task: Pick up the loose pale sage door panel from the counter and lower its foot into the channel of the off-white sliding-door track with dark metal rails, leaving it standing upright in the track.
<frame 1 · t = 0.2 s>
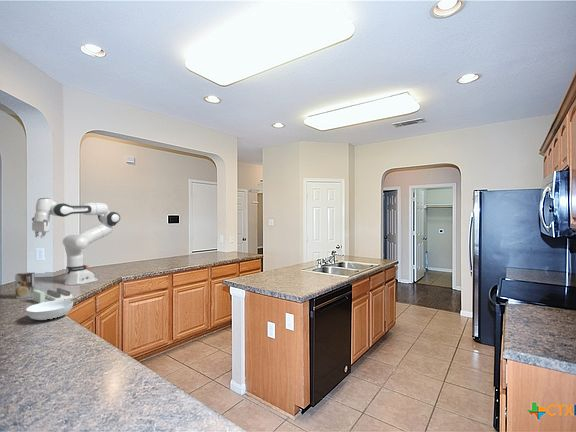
hand: (39, 237, 219), 39 cm above the countertop, tool pointing down, fingers open, 8 cm apart
coffee box: (25, 297, 202), on the countertop
door panel: (38, 301, 192), on the countertop
floor track: (58, 297, 202), on the countertop
serving bowl: (50, 317, 167), on the countertop
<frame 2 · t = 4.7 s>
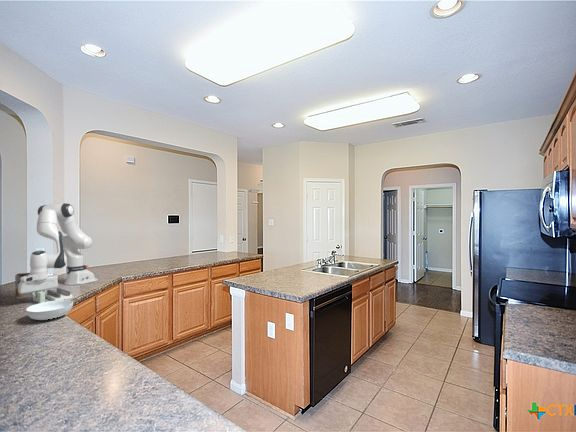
hand: (38, 297, 192), 3 cm above the countertop, tool pointing down, fingers closed on door panel, 2 cm apart
door panel: (38, 301, 192), on the countertop, touching gripper
everything else where it was.
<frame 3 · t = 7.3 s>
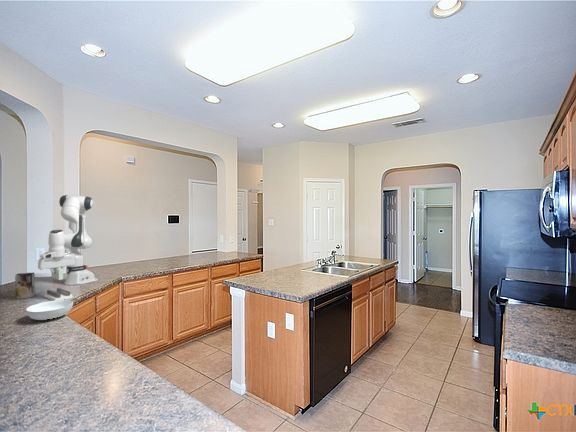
hand: (57, 273, 201), 16 cm above the countertop, tool pointing down, fingers closed on door panel, 2 cm apart
door panel: (57, 278, 201), point 13 cm above the countertop, touching gripper
everything else where it was.
when the fingers open (6 cm above the countertop, at t = 9.8 s): door panel stays where it is, resting on floor track.
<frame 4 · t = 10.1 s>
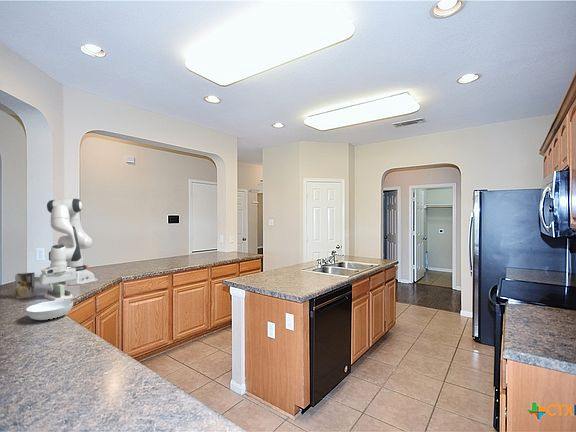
hand: (58, 288, 202), 6 cm above the countertop, tool pointing down, fingers open, 5 cm apart
door panel: (58, 294, 202), point 2 cm above the countertop, touching floor track
everything else where it was.
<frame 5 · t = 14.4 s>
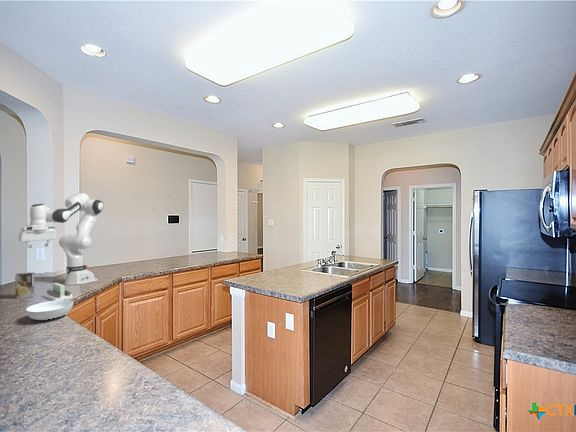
hand: (38, 247, 204), 34 cm above the countertop, tool pointing down, fingers open, 8 cm apart
nothing on the countertop moved.
at the end: door panel 0.0 cm off-centre on the floor track, point 2.0 cm above the floor track's base; door panel tilted 0°; the gripper is holding nothing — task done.
